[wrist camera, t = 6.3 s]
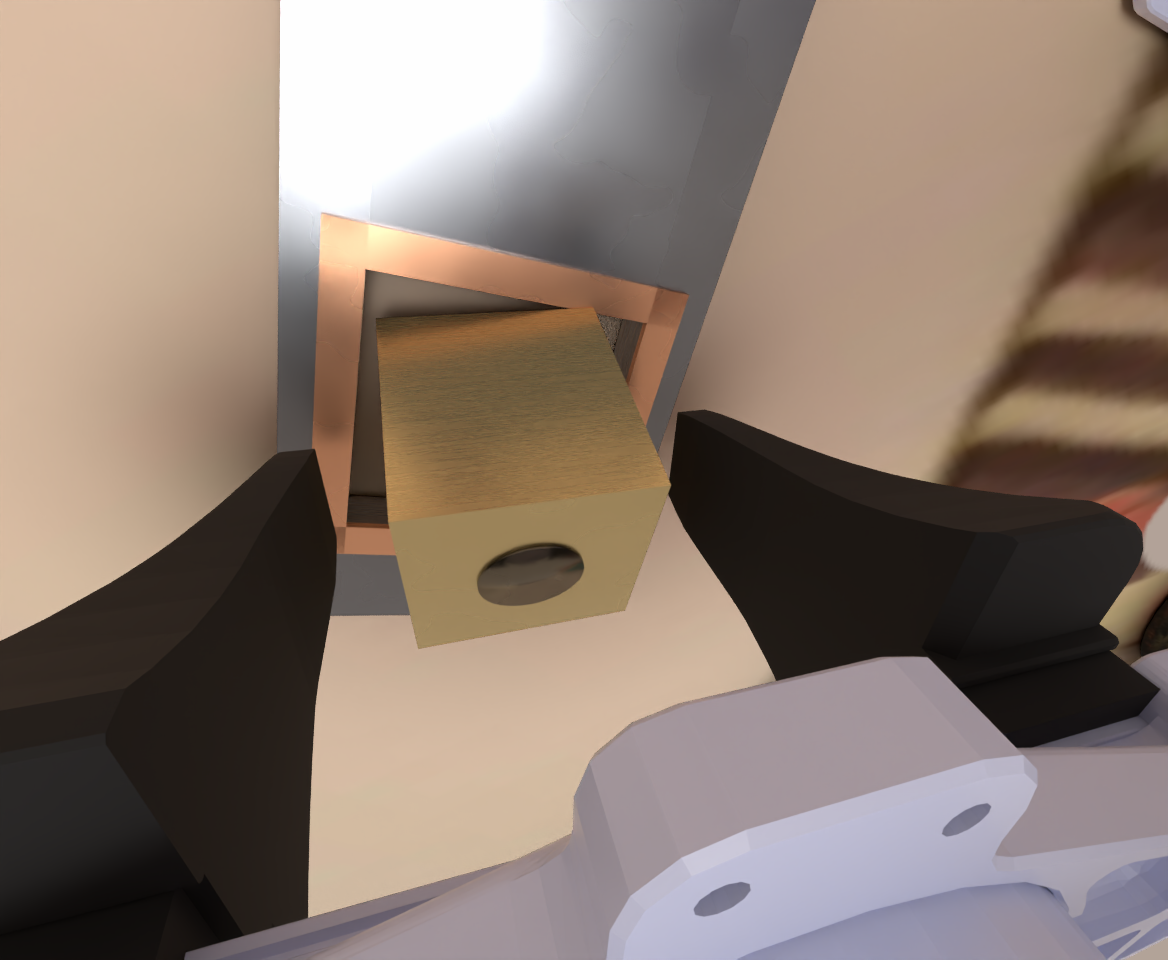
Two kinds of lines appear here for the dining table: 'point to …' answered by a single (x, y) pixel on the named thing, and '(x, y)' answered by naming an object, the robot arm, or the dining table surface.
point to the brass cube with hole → (512, 470)
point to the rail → (508, 190)
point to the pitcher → (1156, 632)
